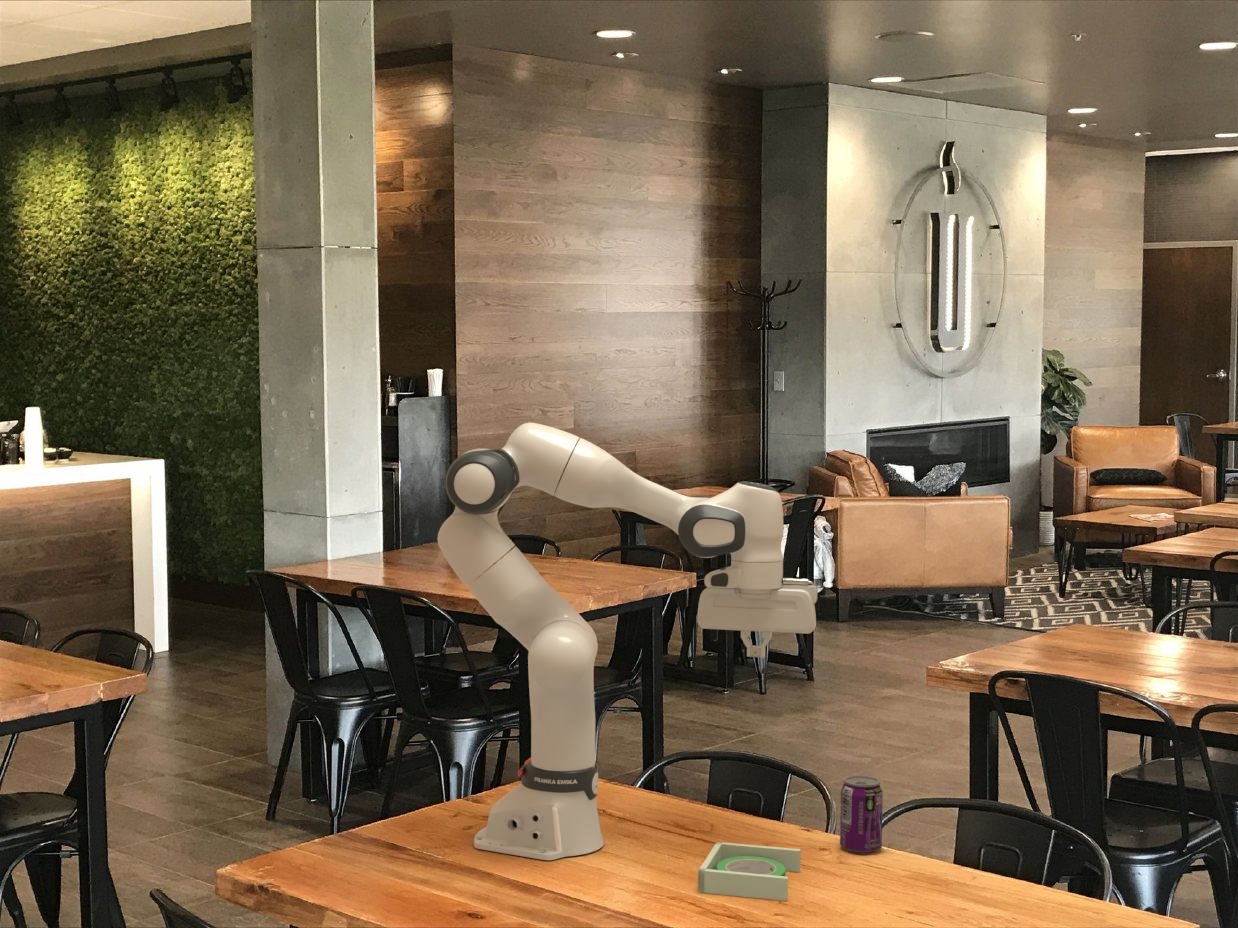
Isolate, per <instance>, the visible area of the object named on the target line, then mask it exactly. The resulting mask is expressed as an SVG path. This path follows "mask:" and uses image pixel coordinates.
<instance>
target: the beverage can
mask: <svg viewBox="0 0 1238 928" xmlns="http://www.w3.org/2000/svg"><path fill="white" fill-rule="evenodd" d="M883 795H884V793H883V789H882V788H881V781H880V779H878V778H877V777H872V776H868V775H867V776H866V775H852V776H851V775H850V776H847V777H844V778H843V785H842V786H841V789H840V818H839V819H840V822H839V823H840V827H839V830H840V831H839V845H840V846H841V847H842V848H844V850H845V849H846V850H847V851H849V852H850V853H854V854H862V855H863V854H864V855H865V854H872V853H875V852H876V851H878V850H881V848H882V846H883V799H884V798H883Z"/></svg>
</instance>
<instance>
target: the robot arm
mask: <svg viewBox="0 0 1238 928" xmlns="http://www.w3.org/2000/svg"><path fill="white" fill-rule="evenodd" d="M519 487H530V488H534V489H537V490H540V491H541V492H544V493H547V494H548V495H550V496H553V497H555V498H558V499H560V500H562V501H564V502H566V503H567V502H568V503H570V504H574V505H577V506H581V507H585V508H590V509H600V508H603V509H604V508H616V509H622V510H627V511H630V512H633V513H636V514H637V515H640V516H642V517H644V518H647V519H649V520H652V521H654V522H655V523H658V524H661V525H663V526H666V527H668V528H669V529H670V530H672V531H673V532H674V533H675V534H676V535H678V539H679V541H680V543H681V545H682V547H683V548H684V549H685V550H686V551H687V552H688V553H690V554H691V555H692V556H695V557H699V558H702V559H703V558H704V559H709V558H714V557H717V556H722V555H727V554H730V556H731V557H730V560H731V561H730V563H731V565H730V566H724V567H721V568H719V569H716V570H713V571H710V572H708V573H707V574H706V575H705V576H704V581H703V582H704V586H705V587H706V588H704V589H703V590H702V591H701V593H700V596H699V601H698V606H697V607H698V608H697V619H696V621H697V625H698V626H699V627H700V629H702V630H704V629H706V630H724V631H726V630H727V631H740V639H741V640H742V642H743V644H744V645H745V647H746V657H749V658H762V659H765V657H766V646H767V645H768V643H769V642H770V640H771V638H772V637H773V633H783V634H803V635H804V634H805V635H806V634H807V635H808V634H811V633H812V632H813V631H814V630H815V629H816V626H817V615H816V607H815V606H816V605H815V604H816V603H817V601H818V591H819V590H818V587H817V585H816V584H815V583H814V582H813V581H810V579H808V578H793V577H784V556H783V553H782V552H783V551H782V540H783V538H784V511H783V510H784V509H783V501H782V497H781V495H780V493H779V492H778V490H777V489H775V488H774V487H772V486H770V485H767V484H765V483H764V484H763V483H759V482H756V481H755V482H753V481H747V480H746V481H738V482H737V483H735V484H734V485H733V486H732V487H731V488H729V489H727V490H724V491H723V492H721V493H719V494H716V495H714V496H712V495H711V496H710V495H687V494H683V493H680V492H677V491H675V490H673V489H670V488H668V487H666V486H664V485H661V484H659V483H656V482H654V481H652V480H650V479H648V478H645V477H643V476H641V475H639V474H638V473H636V472H634V471H632V470H631V468H629V467H628V466H626V465H625V464H624V463H622V462H621V461H620V460H619V459H617V458H616V457H614V456H613V455H612V454H610V453H609V452H607V451H606V450H604V449H603V448H601V447H599V446H598V445H597V444H594V443H593V442H590V441H589V440H587V439H584V438H582V437H580V436H578V435H575V434H573V433H570V432H567V431H565V430H562V429H559V428H556V427H552V426H549V425H545V424H541V423H536V422H525V423H523V424H520V425H519V426H518V427H517V428H515V429H514V430H513V432H512V433H511V434H510V436H509V438H508V439H507V441H506V443H505V444H504V446H503V447H502V448H484V447H483V448H479V447H478V448H473V449H470V450H467V451H465V452H464V453H462V454H461V455H460V456H458V457H456V458H455V460H454V461H453V462H452V463H451V464H450V465H449V467H448V470H447V471H446V476H445V490H446V493H447V496H448V498H449V501H451V503H452V504H453V505H454V510H453V512H452V513H451V515H450V516H449V517H447V518H446V520H445V521H444V522H443V523H442V525H441V527H440V528H439V531H438V533H437V537H436V539H437V544H438V547H439V549H440V550H441V552H442V554H443V556H444V558H445V559H446V561H447V563H448V565H449V566H450V567H451V569H452V571H453V572H454V573H455V575H456V576H457V577H458V578H459V580H460V581H461V582H462V584H463V585H464V586H465V587H466V588H467V590H468V591H469V593H471V594H472V596H473V597H474V598H475V600H477V602H478V603H479V604H480V605H481V606H482V607H483V608H484V610H485V611H486V612H487V613H488V615H489V616H490V617H491V618H492V619H493V621H494V622H495V623H496V624H498V625H499V626H501V627H502V628H503V629H504V630H506V631H507V632H508V633H509V634H510V635H512V637H513V638H515V639H516V640H517V641H518V642H519V643H520V644H521V645H522V646H523V647H524V648H525V649H526V650H527V651H528V653H527V661H528V662H527V664H528V666H527V669H528V688H529V689H528V690H529V705H530V716H531V717H530V719H531V722H530V723H531V725H530V726H531V728H530V729H531V730H530V731H531V735H530V736H531V743H530V744H531V745H530V746H531V748H530V750H531V753H530V754H531V755H530V757H529V758H528V759H526V760H525V761H524V764H523V765H522V766H521V767H520V769H519V770H518V771H517V772H518V774H517V775H518V776H517V777H518V778H520V781H521V782H520V783H519V784H518V785H516V786H515V787H514V788H512V789H511V790H509V791H508V792H507V793H506V794H504V795H503V796H502V797H501V798H500V799H498V800H497V801H496V802H494V803H493V805H492V807H491V809H490V811H489V814H488V818H487V823H486V826H485V827H483V828H481V829H480V830H479V831H478V832H477V833H476V834H475V835H474V837H473V847H474V848H475V849H478V850H483V851H489V852H495V853H500V854H506V855H514V856H518V857H519V856H520V857H526V858H531V859H535V860H543V861H553V860H557V859H558V860H559V859H562V858H565V857H567V858H568V857H574V856H575V857H576V856H580V855H581V856H582V855H586V854H590V853H594V852H596V851H598V850H599V849H601V848H602V847H603V846H604V845H605V840H604V837H603V835H602V834H603V833H602V830H601V826H600V819H599V813H598V803H597V796H598V792H599V772H598V771H599V769H598V762H596V710H595V709H596V708H595V687H594V686H595V684H594V681H595V680H594V673H595V672H594V669H595V661H596V658H597V655H598V649H599V644H598V642H599V641H598V639H597V635H596V633H595V630H594V629H593V627H592V626H591V625H590V624H589V623H588V622H587V621H586V620H585V619H584V618H583V616H582V615H580V613H579V612H578V611H577V610H576V609H575V608H574V607H573V606H572V605H571V604H570V603H569V602H568V601H567V600H566V599H565V598H564V596H562V595H561V594H560V593H559V592H558V591H557V590H556V589H555V588H554V587H552V586H551V584H550V583H549V582H547V581H546V580H545V578H544V577H543V576H542V575H541V573H539V571H538V570H537V569H536V568H535V567H534V566H533V564H532V563H531V562H530V560H528V559H527V558H526V556H525V555H524V553H522V551H521V550H520V549H519V548H518V547H517V546H516V544H515V543H514V542H513V541H512V540H511V539H510V537H509V536H508V535H507V534H506V533H505V531H504V529H503V528H502V527H501V525H500V523H499V519H498V516H499V515H500V513H501V512H502V510H503V509H504V507H505V505H506V504H507V502H509V500H510V498H511V497H512V494H513V492H514V491H515V490H516V489H517V488H519ZM751 632H761V637H762V639H764V640H763V641H762V642H761V645H753V644H752V642H751V640H750V638H749V636H751Z"/></svg>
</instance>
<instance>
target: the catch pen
mask: <svg viewBox="0 0 1238 928" xmlns="http://www.w3.org/2000/svg"><path fill="white" fill-rule="evenodd" d="M801 852H802V850H801V848H790V847H780V846H768V845H767V846H765V845H756V844H744V843H736V842H734V843H733V842H723V841H716V842H715V844H714V846H713V847H712V849H711V850H710V852H708V855H707V856H706V858H705V859H704V861H703V862H702V864H701V865H700V867H699V869H698V871H697V873H698V875H697V877H698V878H697V879H698V880H697V883H698V884H697V892H698V893H702V894H710V895H723V896H731V897H732V896H733V897H742V898H753V899H760V900H761V899H762V900H764V899H765V900H771V901H780V902H781V901H782V902H787V901H788V899H789V897H788V896H789V877H788V876H786V875H785V876H775V875H765V874H754V873H743V872H733V871H722V870H717V864H718V863H719V862H720V861H722V860H725V859H728V858H732V857H740V856H754V857H762V858H768V859H771V860H775V861H777V862H779V863H781V864H782V865H783V866H784V867H785V870H786V872H791V873H792V872H794V873H800V872H801V857H802V855H801Z"/></svg>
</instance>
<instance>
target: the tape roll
mask: <svg viewBox="0 0 1238 928" xmlns="http://www.w3.org/2000/svg"><path fill="white" fill-rule="evenodd" d="M717 870H722V871H733V872H743V873H754V874H765V875H775V876H786V872H787V871H786V870H785V867H784V866H783V865H782V864H781V863H779V862H777V861H775V860H771V859H768V858H762V857H754V856H740V857H732V858H728V859H725V860H722V861H720V862H719V863H718V864H717Z"/></svg>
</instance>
